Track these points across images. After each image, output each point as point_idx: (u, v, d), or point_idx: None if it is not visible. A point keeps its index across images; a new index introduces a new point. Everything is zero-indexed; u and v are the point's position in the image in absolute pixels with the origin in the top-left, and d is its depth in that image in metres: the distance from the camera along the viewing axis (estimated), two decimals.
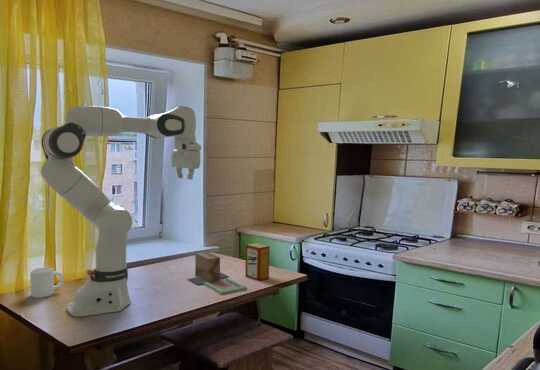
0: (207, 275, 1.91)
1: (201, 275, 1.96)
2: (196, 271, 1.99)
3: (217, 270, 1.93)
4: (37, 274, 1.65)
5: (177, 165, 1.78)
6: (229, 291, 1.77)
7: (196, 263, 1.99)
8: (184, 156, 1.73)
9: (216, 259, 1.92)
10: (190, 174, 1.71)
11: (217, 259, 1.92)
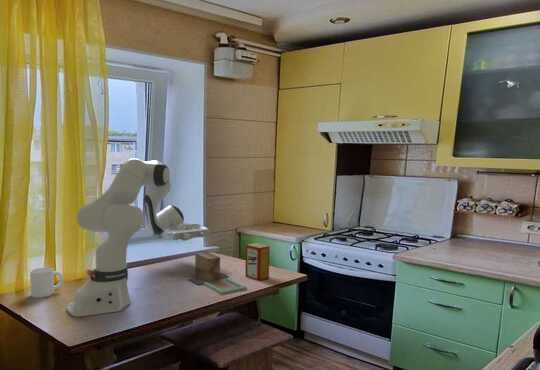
0: (207, 275, 1.91)
1: (201, 275, 1.96)
2: (196, 271, 1.99)
3: (217, 270, 1.93)
4: (37, 274, 1.65)
5: (185, 231, 2.07)
6: (229, 291, 1.77)
7: (196, 263, 1.99)
8: (192, 229, 2.14)
9: (216, 259, 1.92)
10: None
11: (217, 259, 1.92)
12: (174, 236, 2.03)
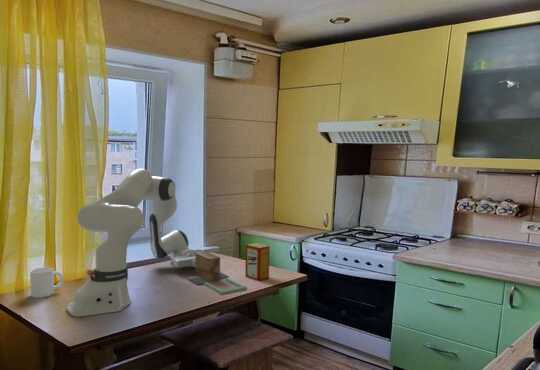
0: (207, 275, 1.91)
1: (201, 275, 1.96)
2: (196, 271, 1.99)
3: (217, 270, 1.93)
4: (37, 274, 1.65)
5: (188, 258, 2.04)
6: (229, 291, 1.77)
7: (196, 263, 1.99)
8: None
9: (216, 259, 1.92)
10: None
11: (217, 259, 1.92)
12: (178, 264, 2.00)
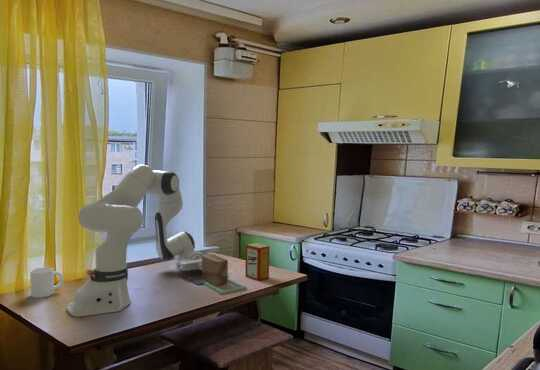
0: (214, 279, 1.86)
1: (208, 278, 1.90)
2: (203, 274, 1.94)
3: (225, 274, 1.88)
4: (37, 274, 1.65)
5: (195, 261, 1.99)
6: (229, 291, 1.77)
7: (203, 266, 1.94)
8: None
9: (224, 262, 1.87)
10: None
11: (225, 262, 1.87)
12: (184, 267, 1.95)
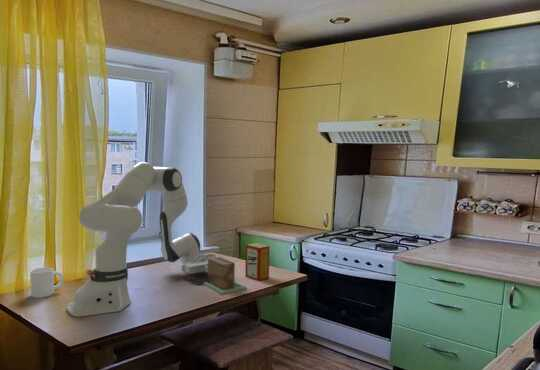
0: (221, 282, 1.81)
1: (214, 282, 1.86)
2: (209, 277, 1.89)
3: (232, 277, 1.83)
4: (37, 274, 1.65)
5: (200, 264, 1.94)
6: (229, 291, 1.77)
7: (209, 269, 1.89)
8: None
9: (231, 265, 1.82)
10: None
11: (232, 265, 1.83)
12: (189, 270, 1.90)
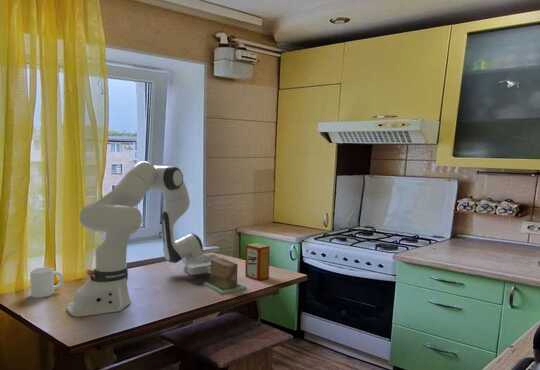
0: (224, 283, 1.79)
1: (217, 283, 1.84)
2: (212, 278, 1.88)
3: (235, 278, 1.81)
4: (37, 274, 1.65)
5: (203, 265, 1.92)
6: (229, 291, 1.77)
7: (212, 270, 1.88)
8: (210, 262, 1.99)
9: (234, 266, 1.81)
10: None
11: (234, 266, 1.81)
12: (192, 271, 1.89)
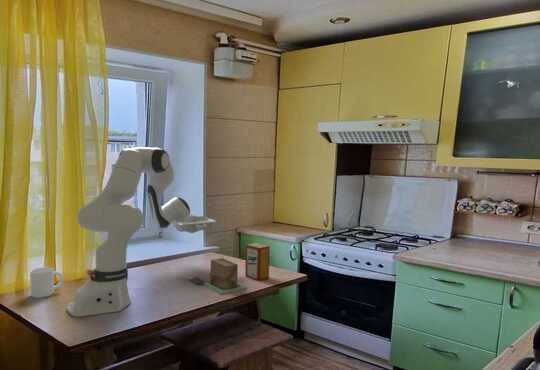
0: (224, 284, 1.79)
1: (217, 283, 1.84)
2: (212, 279, 1.88)
3: (235, 278, 1.81)
4: (37, 274, 1.65)
5: (192, 223, 2.00)
6: (229, 291, 1.77)
7: (212, 271, 1.87)
8: (199, 221, 2.07)
9: (234, 266, 1.80)
10: None
11: (234, 266, 1.81)
12: (181, 227, 1.96)
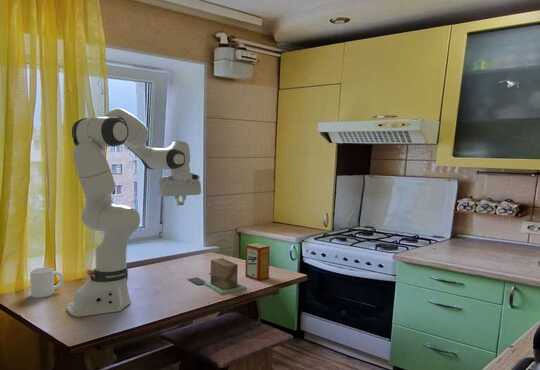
0: (224, 284, 1.79)
1: (217, 283, 1.84)
2: (212, 279, 1.88)
3: (235, 278, 1.81)
4: (37, 274, 1.65)
5: (175, 194, 1.94)
6: (229, 291, 1.77)
7: (212, 271, 1.87)
8: (186, 185, 1.97)
9: (234, 266, 1.80)
10: None
11: (234, 266, 1.81)
12: (161, 195, 1.91)
